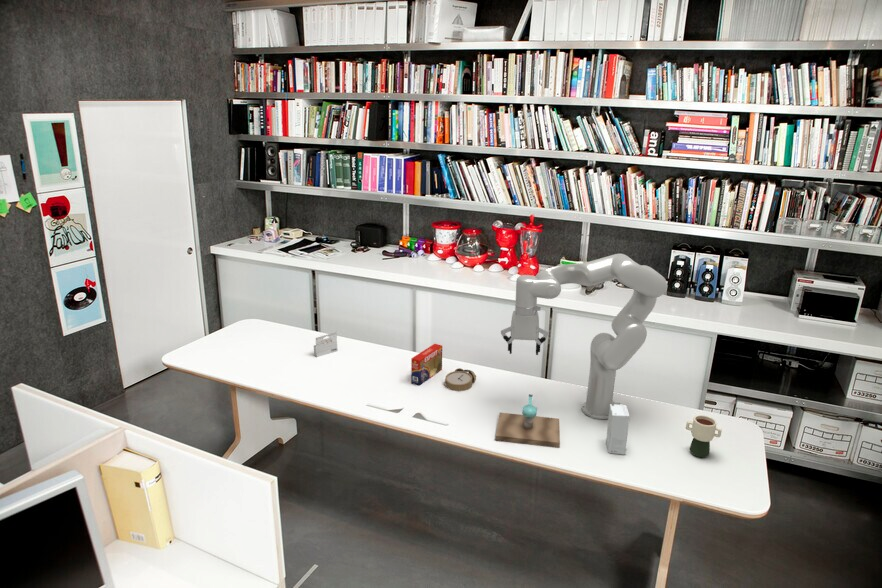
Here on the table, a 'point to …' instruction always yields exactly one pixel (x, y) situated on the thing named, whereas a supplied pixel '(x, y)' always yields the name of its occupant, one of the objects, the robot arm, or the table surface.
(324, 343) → the ink cartridge box
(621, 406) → the skincare box
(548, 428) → the post block
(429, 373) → the toy box
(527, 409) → the teal lever handle
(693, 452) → the character mug
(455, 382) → the alarm clock
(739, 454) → the table surface
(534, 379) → the table surface
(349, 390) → the table surface
